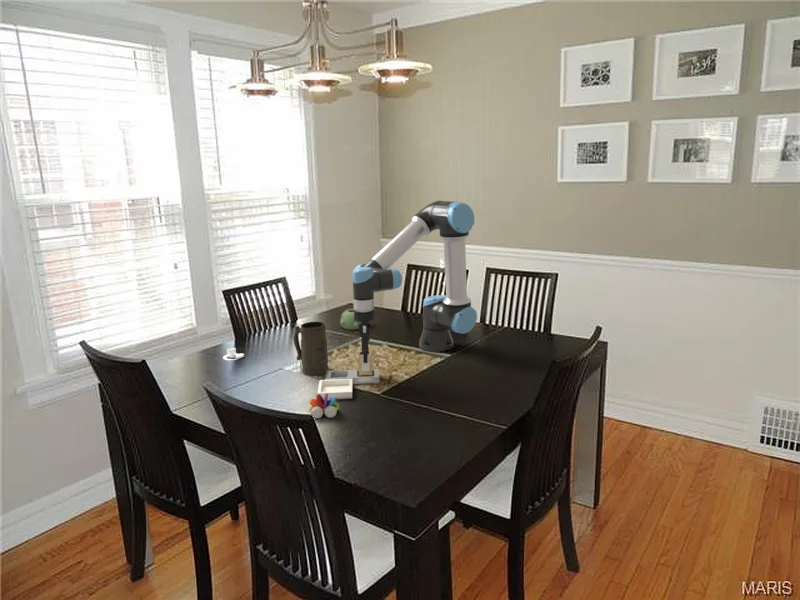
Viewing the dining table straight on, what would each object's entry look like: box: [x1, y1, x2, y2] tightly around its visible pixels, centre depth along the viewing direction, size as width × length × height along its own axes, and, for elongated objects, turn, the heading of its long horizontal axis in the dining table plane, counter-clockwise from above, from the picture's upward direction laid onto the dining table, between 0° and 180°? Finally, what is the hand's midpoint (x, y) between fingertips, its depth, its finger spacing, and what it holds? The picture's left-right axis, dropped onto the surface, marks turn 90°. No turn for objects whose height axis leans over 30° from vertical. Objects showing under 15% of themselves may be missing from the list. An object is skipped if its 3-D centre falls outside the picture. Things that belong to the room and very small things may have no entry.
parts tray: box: [316, 379, 354, 400], centre depth 194 cm, size 12×12×2 cm
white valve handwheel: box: [222, 347, 245, 361], centre depth 230 cm, size 9×8×4 cm
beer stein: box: [292, 321, 329, 376], centre depth 213 cm, size 15×10×20 cm
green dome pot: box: [339, 308, 361, 331], centre depth 270 cm, size 16×13×9 cm
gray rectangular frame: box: [324, 368, 380, 385], centre depth 205 cm, size 20×8×2 cm, turn 94°
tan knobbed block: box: [357, 346, 373, 377], centre depth 204 cm, size 5×5×12 cm
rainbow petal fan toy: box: [308, 393, 340, 419], centre depth 176 cm, size 8×10×7 cm
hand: (365, 363), depth 204 cm, fingers open, 13 cm apart
